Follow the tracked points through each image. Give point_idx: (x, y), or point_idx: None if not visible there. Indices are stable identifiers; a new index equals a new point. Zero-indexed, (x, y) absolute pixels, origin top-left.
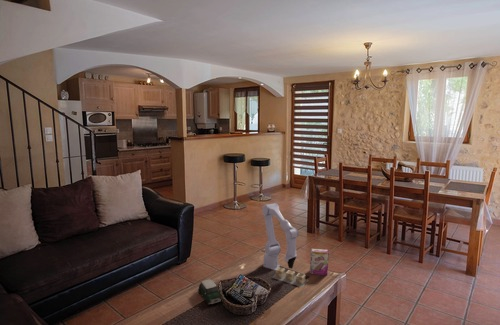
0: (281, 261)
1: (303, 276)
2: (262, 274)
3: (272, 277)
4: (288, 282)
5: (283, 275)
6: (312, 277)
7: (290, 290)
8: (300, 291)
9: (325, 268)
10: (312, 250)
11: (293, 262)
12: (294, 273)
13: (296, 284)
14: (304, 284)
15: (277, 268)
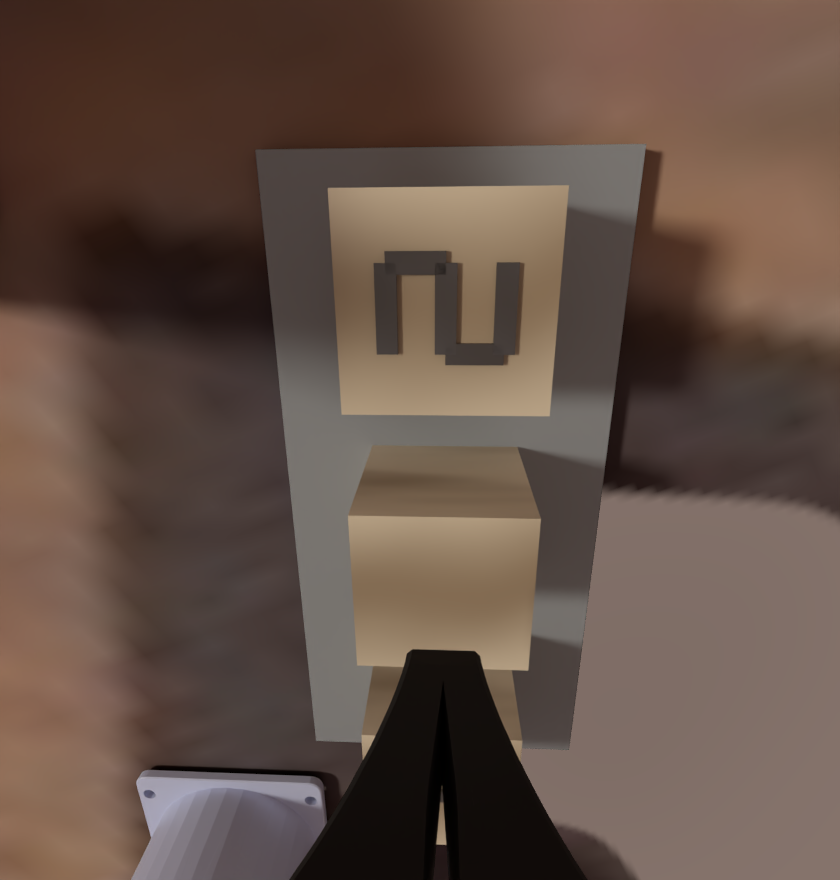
0: (7, 791)
1: (478, 200)
2: None
3: (559, 745)
4: (591, 487)
5: None
6: (69, 124)
7: (828, 352)
8: (797, 141)
9: None
10: None
11: (424, 847)
12: (388, 498)
13: (595, 323)
14: (506, 158)
15: (441, 839)
